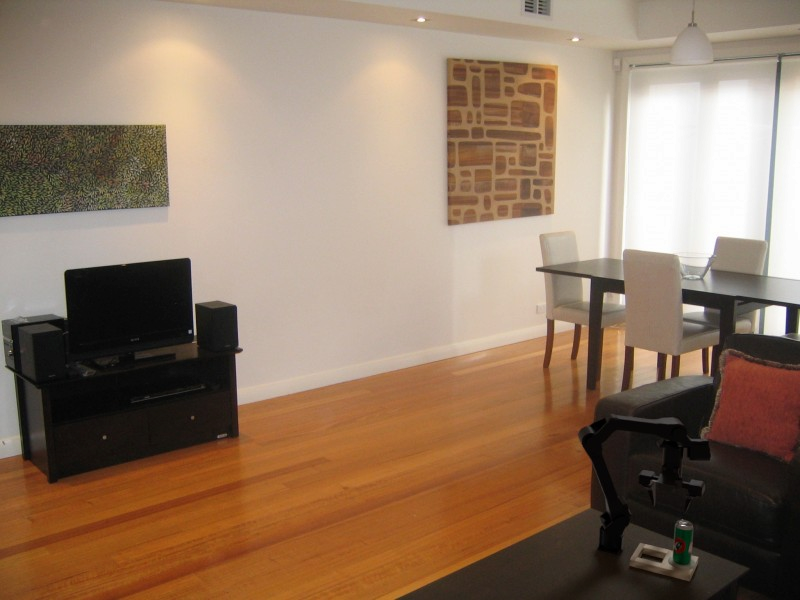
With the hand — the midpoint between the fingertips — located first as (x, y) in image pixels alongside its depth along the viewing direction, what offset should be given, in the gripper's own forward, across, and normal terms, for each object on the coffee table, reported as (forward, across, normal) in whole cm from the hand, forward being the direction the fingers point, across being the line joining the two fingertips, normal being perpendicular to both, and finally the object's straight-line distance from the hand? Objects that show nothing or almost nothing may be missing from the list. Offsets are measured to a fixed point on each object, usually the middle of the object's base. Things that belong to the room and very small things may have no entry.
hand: (669, 509), depth 244 cm
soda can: (+11, +6, -10) cm, 16 cm away
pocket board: (+13, +2, -10) cm, 17 cm away
